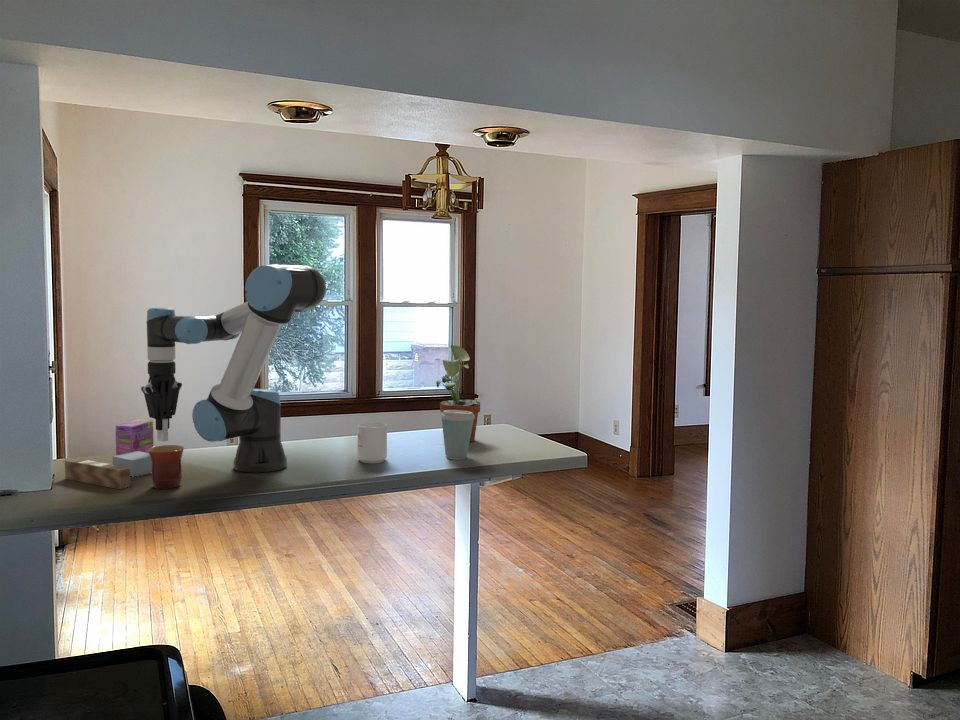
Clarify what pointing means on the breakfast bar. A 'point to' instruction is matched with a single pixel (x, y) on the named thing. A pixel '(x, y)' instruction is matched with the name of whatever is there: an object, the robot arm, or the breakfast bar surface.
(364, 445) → the mug
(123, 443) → the box
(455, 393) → the potted plant
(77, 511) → the breakfast bar surface
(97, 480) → the board
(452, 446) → the disposable coffee cup
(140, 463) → the block
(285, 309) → the robot arm
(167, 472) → the mug
